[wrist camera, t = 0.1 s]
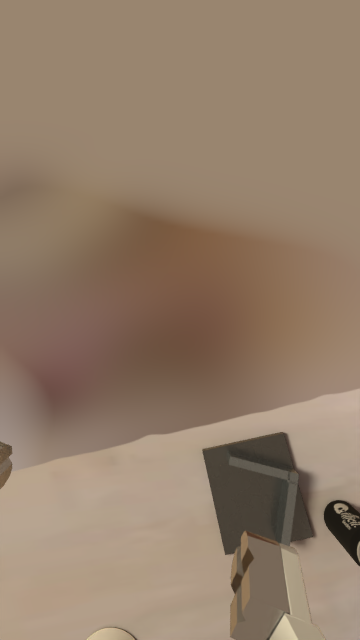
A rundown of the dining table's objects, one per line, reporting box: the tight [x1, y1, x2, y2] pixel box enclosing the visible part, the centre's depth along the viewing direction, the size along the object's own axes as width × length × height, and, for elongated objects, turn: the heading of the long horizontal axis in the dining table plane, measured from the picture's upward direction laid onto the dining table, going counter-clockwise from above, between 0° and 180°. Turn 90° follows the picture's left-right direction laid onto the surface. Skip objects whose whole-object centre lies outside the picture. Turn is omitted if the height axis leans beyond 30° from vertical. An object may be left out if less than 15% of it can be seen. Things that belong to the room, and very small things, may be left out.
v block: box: [202, 432, 313, 555], centre depth 54 cm, size 18×20×5 cm
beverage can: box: [324, 500, 360, 566], centre depth 49 cm, size 7×7×12 cm
